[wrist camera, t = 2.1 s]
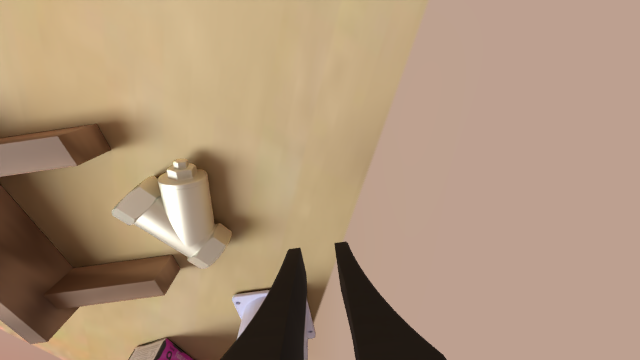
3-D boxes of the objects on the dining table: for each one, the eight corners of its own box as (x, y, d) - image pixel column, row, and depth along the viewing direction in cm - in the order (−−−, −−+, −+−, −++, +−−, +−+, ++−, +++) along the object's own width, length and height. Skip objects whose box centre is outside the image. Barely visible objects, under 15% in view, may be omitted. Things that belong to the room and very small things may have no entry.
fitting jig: (186, 279, 25) (159, 327, 20) (79, 293, 25) (30, 344, 20) (84, 102, 16) (1, 119, 12) (-74, 126, 17) (-213, 151, 12)
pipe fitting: (184, 142, 19) (134, 195, 20) (158, 158, 15) (100, 221, 17) (259, 204, 22) (212, 246, 23) (253, 229, 18) (197, 278, 20)
